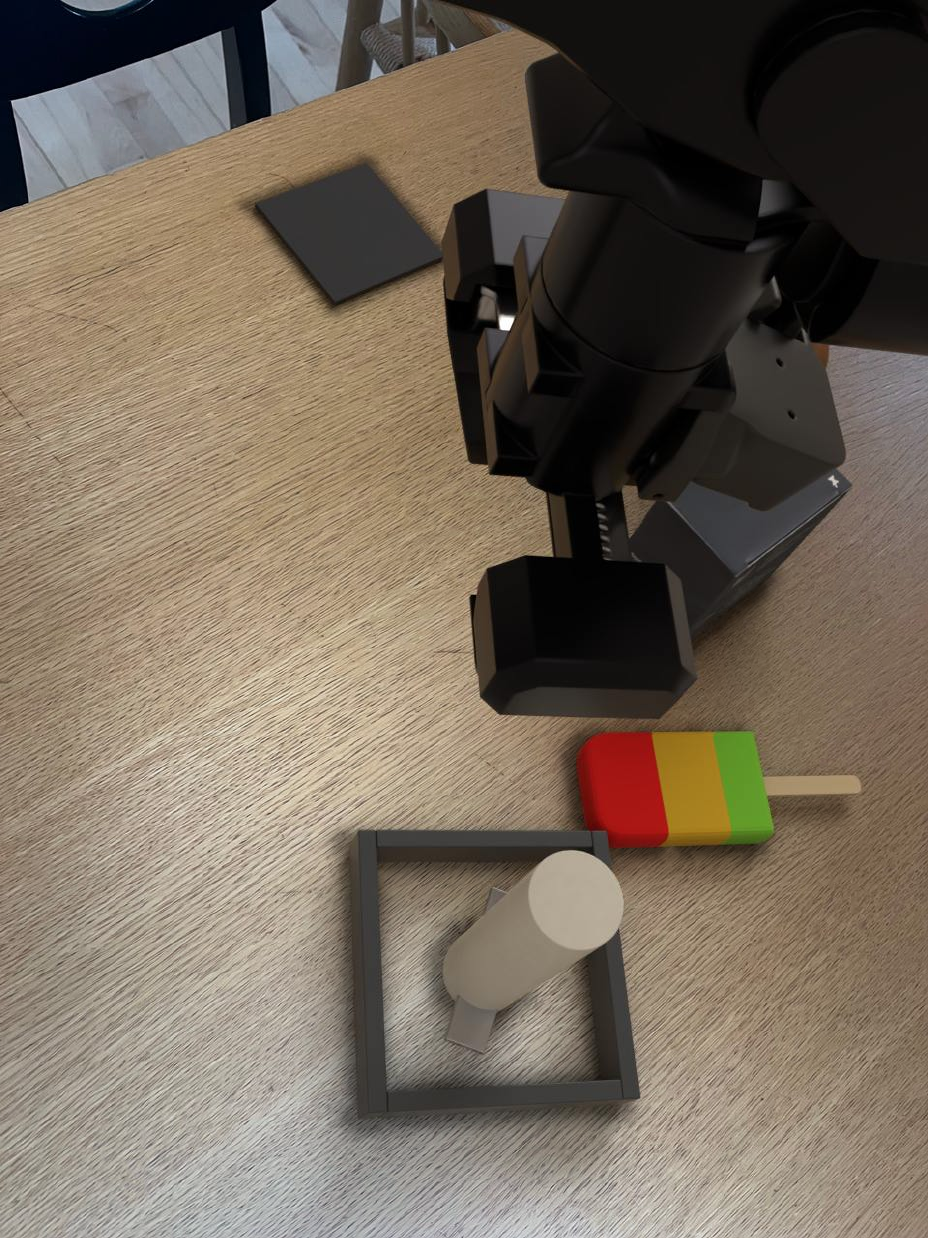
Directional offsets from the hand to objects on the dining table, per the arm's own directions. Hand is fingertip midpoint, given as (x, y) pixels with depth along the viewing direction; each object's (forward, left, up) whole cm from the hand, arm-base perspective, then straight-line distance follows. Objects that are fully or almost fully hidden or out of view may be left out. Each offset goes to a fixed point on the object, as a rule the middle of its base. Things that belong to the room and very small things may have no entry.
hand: (490, 562), depth 48 cm
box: (+16, +8, -15) cm, 23 cm away
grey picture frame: (+3, -13, -15) cm, 20 cm away
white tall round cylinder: (+3, -13, -15) cm, 20 cm away
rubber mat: (-2, +30, -15) cm, 34 cm away
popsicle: (+16, -4, -15) cm, 22 cm away
